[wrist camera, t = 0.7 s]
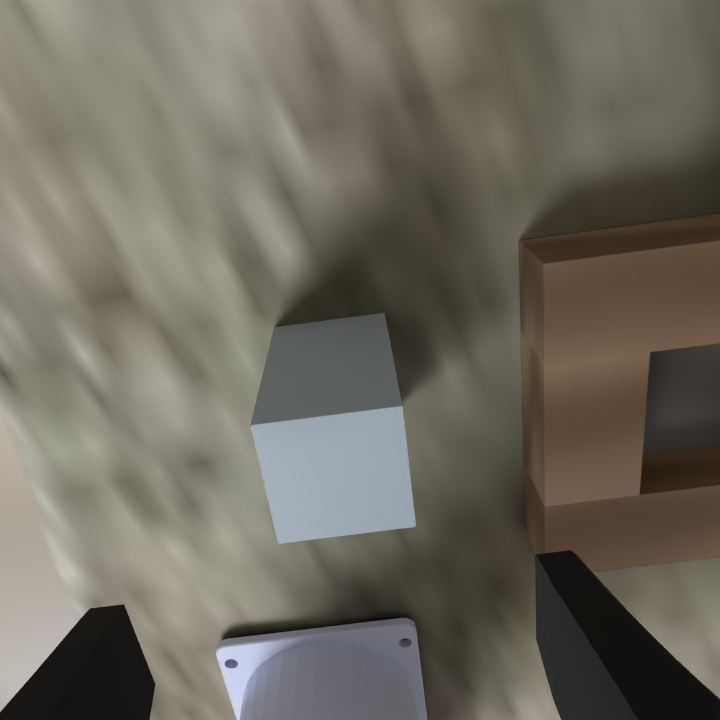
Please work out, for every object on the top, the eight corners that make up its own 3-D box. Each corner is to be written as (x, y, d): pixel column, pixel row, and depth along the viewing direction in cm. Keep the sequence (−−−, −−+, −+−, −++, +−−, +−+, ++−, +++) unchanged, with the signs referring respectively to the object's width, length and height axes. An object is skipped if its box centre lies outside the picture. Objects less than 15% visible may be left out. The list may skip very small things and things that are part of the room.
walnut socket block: (822, 492, 23) (875, 538, 21) (524, 528, 23) (545, 577, 21) (890, 190, 19) (966, 207, 16) (519, 240, 19) (543, 264, 17)
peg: (396, 409, 21) (416, 526, 16) (293, 422, 21) (278, 543, 16) (384, 312, 20) (402, 405, 14) (274, 327, 20) (250, 425, 14)
